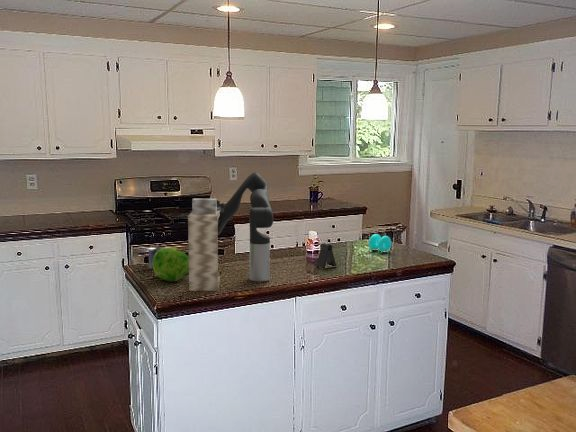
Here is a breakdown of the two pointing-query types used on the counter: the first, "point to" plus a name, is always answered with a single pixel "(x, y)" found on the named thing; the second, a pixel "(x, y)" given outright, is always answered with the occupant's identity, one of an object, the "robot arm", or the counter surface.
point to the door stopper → (325, 256)
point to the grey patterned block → (204, 206)
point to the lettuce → (170, 264)
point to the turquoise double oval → (380, 242)
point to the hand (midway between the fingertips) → (207, 201)
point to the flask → (151, 255)
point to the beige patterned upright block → (203, 252)
